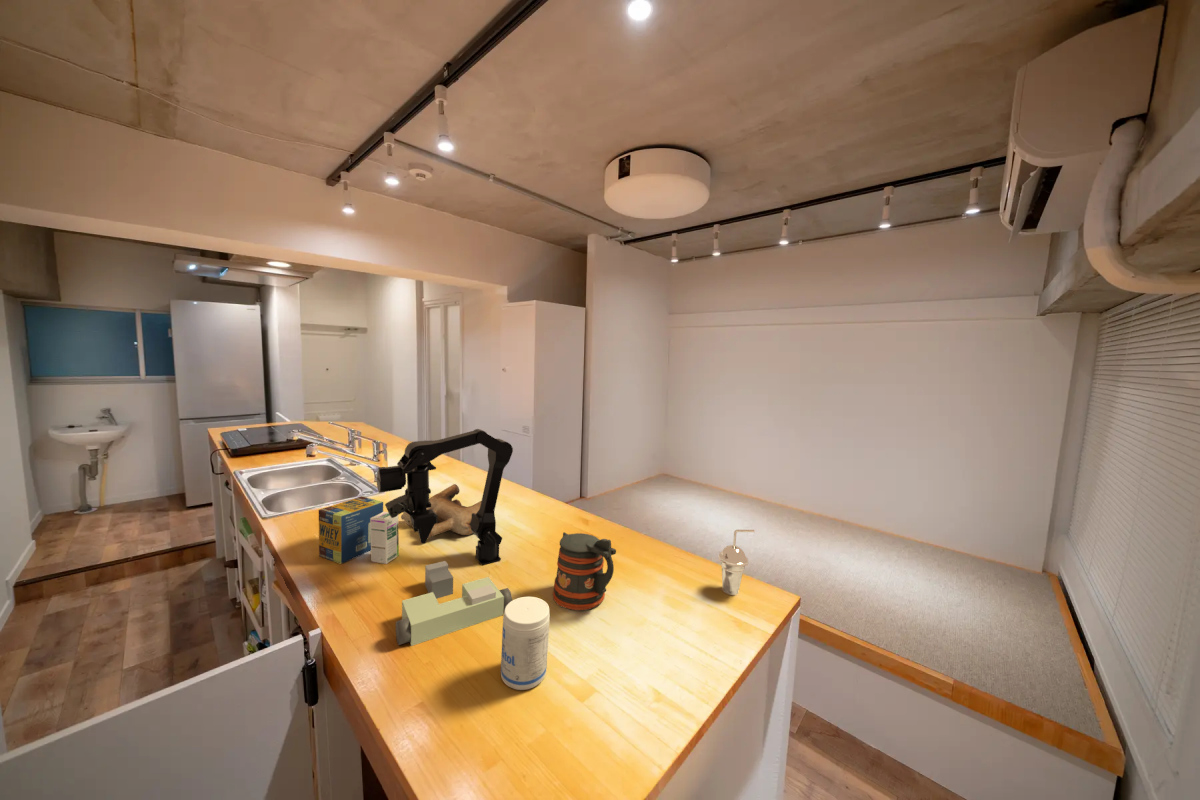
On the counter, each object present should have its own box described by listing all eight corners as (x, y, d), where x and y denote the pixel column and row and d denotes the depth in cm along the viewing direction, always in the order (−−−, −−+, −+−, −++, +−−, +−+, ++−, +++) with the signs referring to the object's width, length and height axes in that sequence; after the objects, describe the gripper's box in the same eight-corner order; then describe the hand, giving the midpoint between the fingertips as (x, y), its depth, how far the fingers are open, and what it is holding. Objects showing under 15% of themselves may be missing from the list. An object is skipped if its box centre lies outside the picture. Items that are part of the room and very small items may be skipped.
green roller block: (496, 591, 115) (496, 569, 115) (512, 611, 106) (512, 588, 106) (391, 622, 100) (391, 597, 99) (399, 649, 91) (399, 622, 90)
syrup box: (386, 564, 127) (386, 519, 125) (370, 561, 128) (369, 517, 126) (399, 556, 132) (399, 512, 131) (383, 553, 133) (383, 510, 132)
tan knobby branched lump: (451, 476, 172) (391, 498, 152) (499, 500, 154) (439, 528, 135) (452, 504, 175) (394, 528, 155) (499, 531, 157) (441, 562, 138)
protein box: (318, 557, 129) (317, 509, 127) (362, 538, 143) (362, 495, 142) (340, 564, 125) (340, 516, 124) (384, 544, 139) (384, 500, 138)
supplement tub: (491, 674, 85) (493, 608, 84) (526, 651, 93) (529, 590, 91) (520, 701, 79) (523, 630, 78) (556, 674, 86) (559, 608, 85)
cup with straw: (724, 580, 128) (729, 518, 126) (752, 592, 122) (758, 528, 120) (710, 589, 122) (715, 525, 120) (738, 603, 116) (744, 535, 114)
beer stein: (627, 601, 114) (632, 532, 112) (595, 626, 102) (600, 550, 100) (576, 576, 125) (579, 514, 123) (542, 597, 114) (544, 528, 112)
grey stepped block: (445, 580, 119) (445, 560, 119) (452, 594, 113) (453, 573, 112) (425, 586, 116) (425, 565, 116) (432, 600, 110) (432, 578, 109)
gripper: (382, 481, 120) (384, 532, 122) (392, 501, 105) (394, 558, 107) (422, 475, 127) (423, 523, 129) (437, 493, 112) (438, 547, 114)
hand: (419, 537), depth 119 cm, fingers open, 9 cm apart
